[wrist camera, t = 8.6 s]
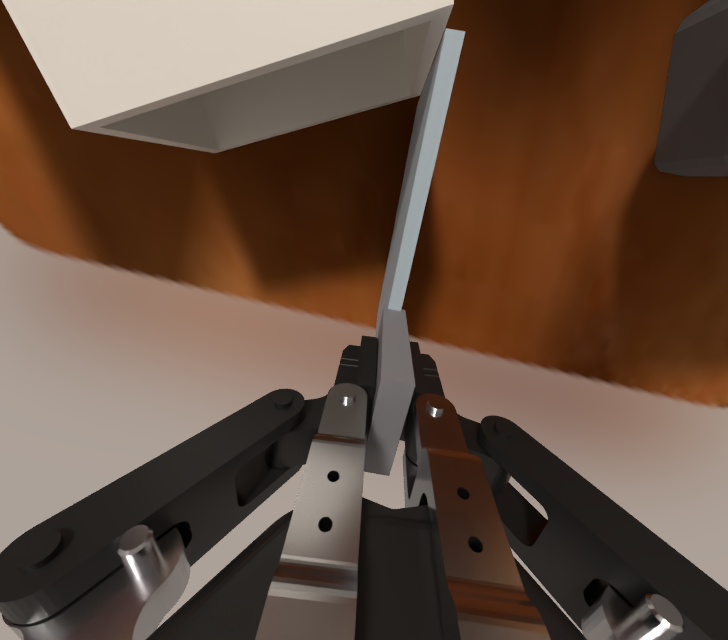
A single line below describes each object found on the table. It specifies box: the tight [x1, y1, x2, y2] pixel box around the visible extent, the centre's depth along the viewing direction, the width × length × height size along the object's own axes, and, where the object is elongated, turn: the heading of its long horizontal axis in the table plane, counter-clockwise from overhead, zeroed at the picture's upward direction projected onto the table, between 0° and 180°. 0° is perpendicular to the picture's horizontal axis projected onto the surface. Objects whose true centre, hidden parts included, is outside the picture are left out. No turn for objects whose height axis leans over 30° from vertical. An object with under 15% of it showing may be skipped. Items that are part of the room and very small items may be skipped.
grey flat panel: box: [364, 28, 465, 476], centre depth 14 cm, size 14×1×15 cm, turn 171°
